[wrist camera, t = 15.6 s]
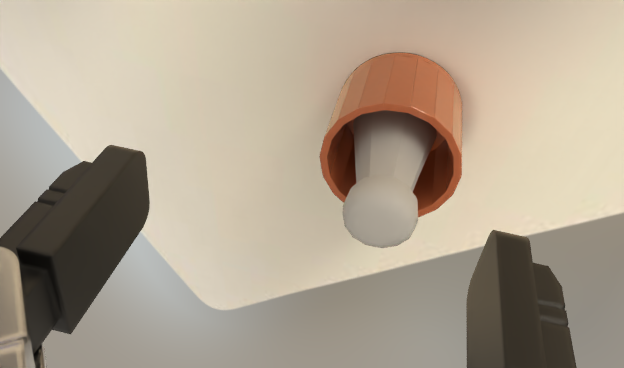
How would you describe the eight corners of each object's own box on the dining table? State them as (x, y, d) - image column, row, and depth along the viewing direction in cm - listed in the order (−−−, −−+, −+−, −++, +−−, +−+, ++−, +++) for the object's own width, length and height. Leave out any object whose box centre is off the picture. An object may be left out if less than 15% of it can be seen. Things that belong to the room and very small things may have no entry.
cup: (401, 26, 39) (390, 74, 33) (488, 114, 41) (492, 173, 35) (315, 104, 44) (292, 159, 38) (397, 178, 46) (388, 240, 41)
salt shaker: (372, 152, 45) (345, 270, 34) (347, 88, 42) (310, 196, 32) (447, 136, 42) (441, 257, 32) (426, 67, 40) (413, 176, 29)
